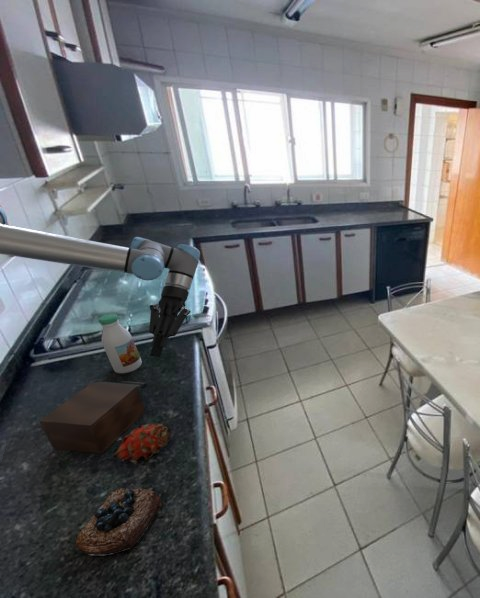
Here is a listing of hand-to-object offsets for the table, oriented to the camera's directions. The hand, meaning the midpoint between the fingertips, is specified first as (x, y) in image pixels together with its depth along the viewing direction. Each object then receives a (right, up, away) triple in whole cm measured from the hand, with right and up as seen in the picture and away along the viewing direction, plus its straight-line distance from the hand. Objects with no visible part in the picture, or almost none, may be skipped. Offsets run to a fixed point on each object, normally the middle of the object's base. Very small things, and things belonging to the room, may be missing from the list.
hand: (155, 356), depth 107 cm
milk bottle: (-14, -5, +6) cm, 16 cm away
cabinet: (-1, -17, -17) cm, 24 cm away
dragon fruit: (+16, -21, -23) cm, 35 cm away
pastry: (+23, -28, -39) cm, 53 cm away
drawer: (-1, -14, -14) cm, 20 cm away
